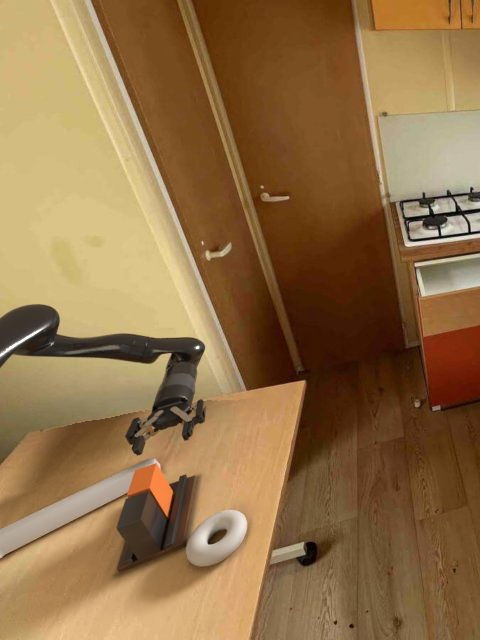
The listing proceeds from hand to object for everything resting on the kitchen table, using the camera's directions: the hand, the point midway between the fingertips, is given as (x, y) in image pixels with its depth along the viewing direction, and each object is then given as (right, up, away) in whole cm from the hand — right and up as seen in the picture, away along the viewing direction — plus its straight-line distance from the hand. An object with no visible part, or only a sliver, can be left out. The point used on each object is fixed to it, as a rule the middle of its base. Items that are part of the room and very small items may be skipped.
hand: (161, 445), depth 92 cm
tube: (-11, -11, -5) cm, 16 cm away
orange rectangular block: (+5, -11, -6) cm, 13 cm away
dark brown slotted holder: (+6, -12, -7) cm, 15 cm away
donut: (+20, -14, -10) cm, 27 cm away
